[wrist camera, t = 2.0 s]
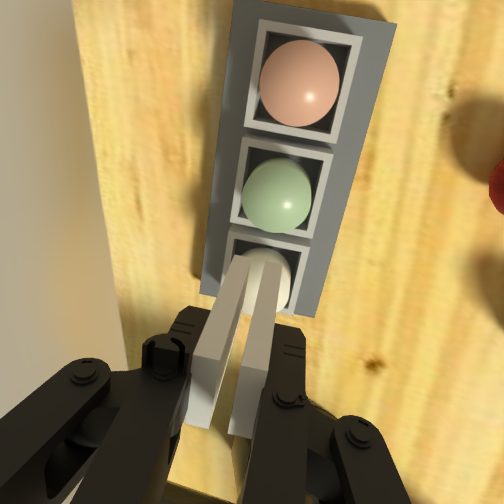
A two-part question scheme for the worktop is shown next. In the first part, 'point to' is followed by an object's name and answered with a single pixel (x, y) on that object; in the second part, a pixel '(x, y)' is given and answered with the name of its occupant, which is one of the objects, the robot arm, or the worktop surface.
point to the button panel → (291, 140)
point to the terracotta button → (299, 83)
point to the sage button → (277, 195)
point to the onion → (497, 187)
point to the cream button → (255, 275)
